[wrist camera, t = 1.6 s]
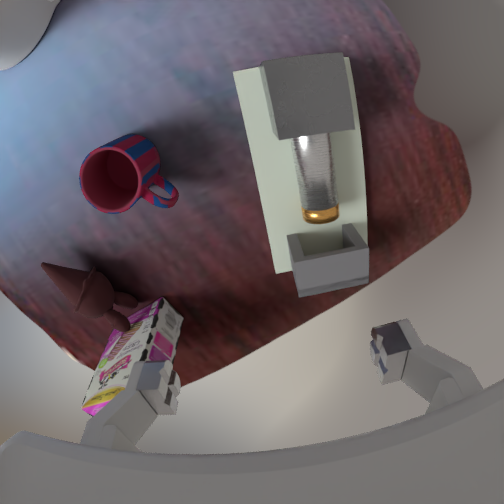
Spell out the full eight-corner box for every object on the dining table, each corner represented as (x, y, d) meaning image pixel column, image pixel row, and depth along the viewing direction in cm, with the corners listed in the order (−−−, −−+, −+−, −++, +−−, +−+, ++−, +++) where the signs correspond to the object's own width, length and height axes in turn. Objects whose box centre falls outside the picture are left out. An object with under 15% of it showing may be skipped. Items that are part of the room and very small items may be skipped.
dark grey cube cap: (258, 66, 26) (262, 61, 21) (325, 58, 25) (342, 52, 20) (272, 131, 29) (279, 140, 24) (336, 122, 29) (355, 129, 24)
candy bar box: (161, 293, 40) (132, 392, 26) (184, 316, 42) (166, 415, 28) (112, 323, 43) (78, 409, 29) (134, 342, 45) (108, 428, 31)
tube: (275, 77, 26) (280, 75, 23) (314, 72, 26) (324, 70, 23) (299, 211, 34) (306, 227, 30) (333, 205, 33) (344, 220, 30)
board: (233, 72, 27) (232, 72, 26) (345, 57, 26) (348, 57, 25) (275, 269, 39) (275, 273, 38) (365, 251, 38) (367, 255, 37)
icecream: (28, 296, 32) (119, 346, 39) (31, 270, 28) (136, 329, 34) (49, 259, 37) (132, 307, 44) (56, 230, 33) (150, 285, 39)
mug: (123, 123, 29) (96, 132, 23) (196, 169, 32) (185, 189, 26) (97, 172, 31) (70, 191, 26) (166, 215, 35) (151, 243, 29)
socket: (286, 235, 35) (293, 262, 30) (351, 222, 35) (368, 247, 29) (291, 267, 37) (299, 297, 32) (352, 255, 37) (368, 282, 32)
